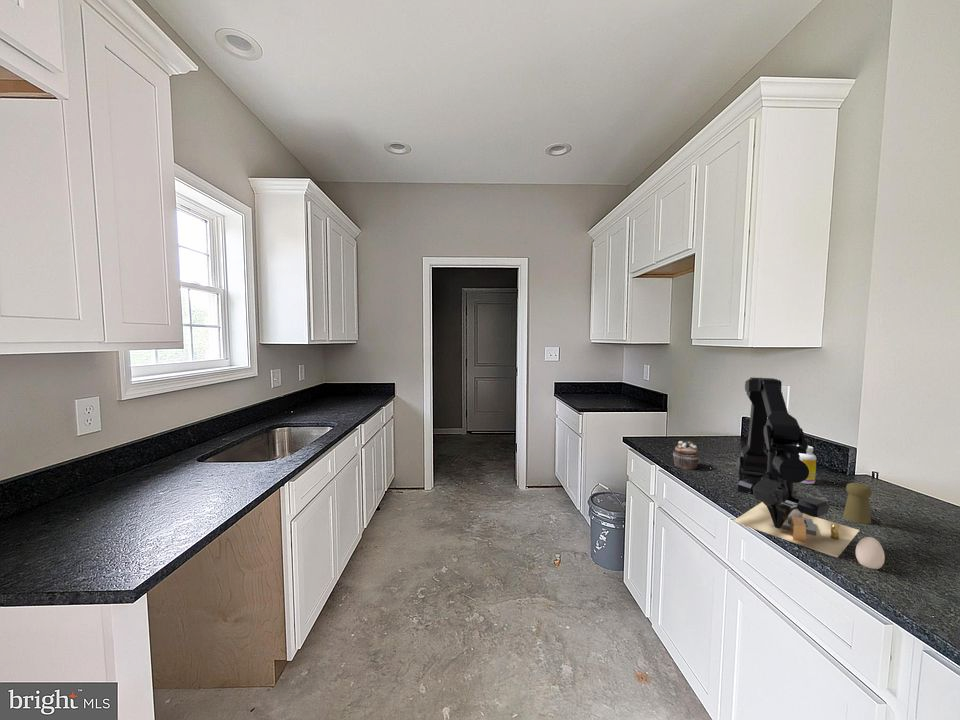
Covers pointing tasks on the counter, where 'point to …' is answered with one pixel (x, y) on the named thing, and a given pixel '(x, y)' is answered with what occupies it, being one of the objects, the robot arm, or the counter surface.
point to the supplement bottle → (809, 465)
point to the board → (821, 542)
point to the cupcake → (686, 455)
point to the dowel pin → (834, 531)
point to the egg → (870, 553)
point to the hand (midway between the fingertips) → (777, 527)
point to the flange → (800, 528)
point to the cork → (858, 503)
